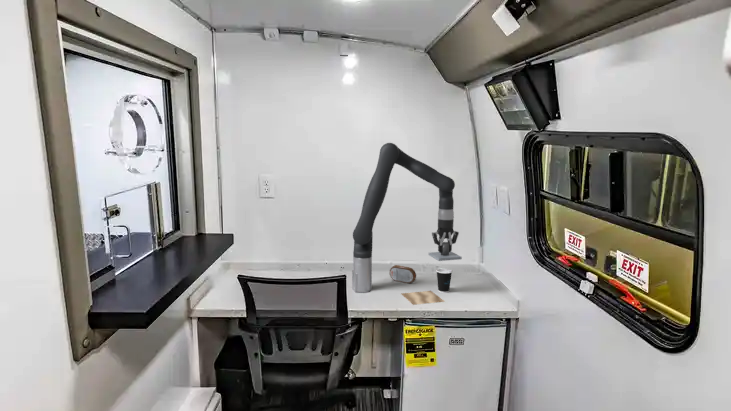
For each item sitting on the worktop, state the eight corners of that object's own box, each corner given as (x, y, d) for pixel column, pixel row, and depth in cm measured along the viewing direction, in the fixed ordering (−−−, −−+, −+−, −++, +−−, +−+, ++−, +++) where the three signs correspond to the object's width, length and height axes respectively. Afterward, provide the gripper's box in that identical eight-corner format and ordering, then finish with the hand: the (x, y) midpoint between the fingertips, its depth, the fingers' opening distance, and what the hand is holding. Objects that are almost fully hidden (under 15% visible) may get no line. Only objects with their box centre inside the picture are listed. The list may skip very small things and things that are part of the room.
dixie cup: (449, 295, 226) (450, 273, 225) (433, 293, 230) (434, 271, 228) (453, 290, 234) (454, 269, 232) (437, 288, 237) (438, 267, 235)
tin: (416, 283, 245) (416, 268, 244) (413, 285, 242) (414, 269, 241) (391, 278, 253) (391, 263, 252) (388, 280, 250) (388, 265, 249)
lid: (438, 261, 222) (439, 246, 221) (428, 254, 233) (428, 240, 232) (461, 259, 225) (462, 244, 224) (450, 253, 236) (450, 239, 235)
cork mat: (412, 305, 212) (413, 304, 212) (400, 294, 227) (400, 293, 227) (445, 302, 217) (445, 301, 217) (430, 291, 232) (430, 290, 232)
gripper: (455, 216, 232) (454, 249, 234) (429, 217, 228) (428, 251, 230) (462, 218, 225) (461, 253, 227) (435, 219, 221) (434, 255, 223)
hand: (444, 252), depth 229 cm, fingers closed on lid, 4 cm apart
